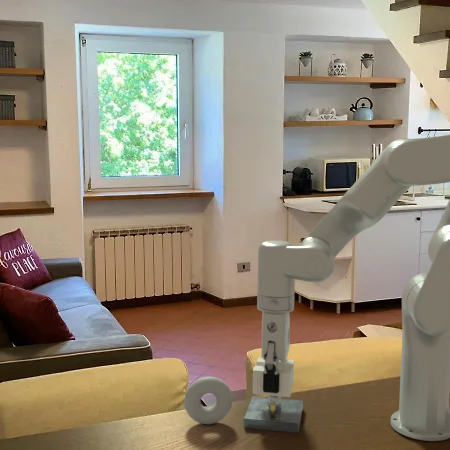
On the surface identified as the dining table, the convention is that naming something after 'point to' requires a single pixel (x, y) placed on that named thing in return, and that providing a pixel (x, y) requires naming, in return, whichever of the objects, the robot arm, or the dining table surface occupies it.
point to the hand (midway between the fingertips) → (273, 383)
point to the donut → (201, 388)
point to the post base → (274, 414)
